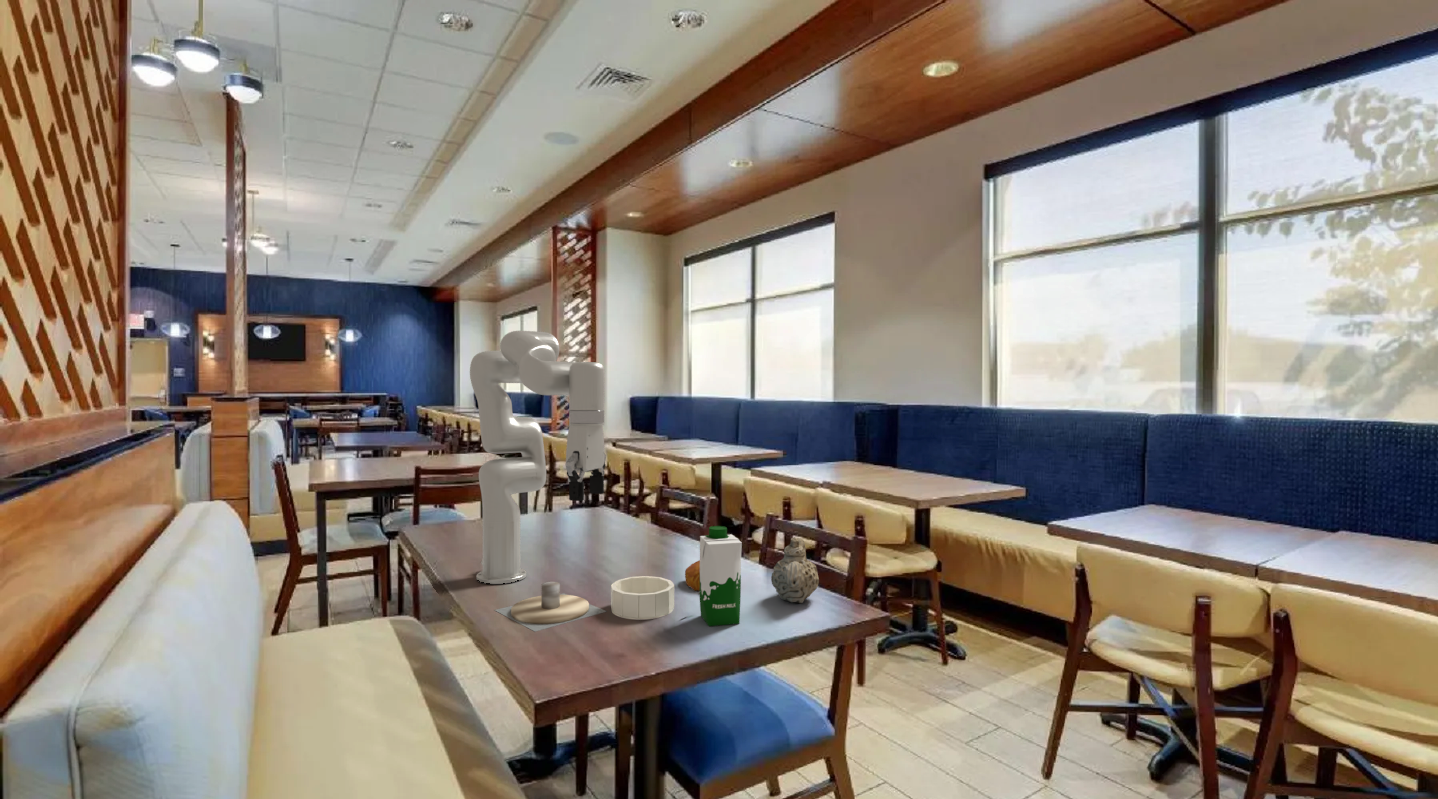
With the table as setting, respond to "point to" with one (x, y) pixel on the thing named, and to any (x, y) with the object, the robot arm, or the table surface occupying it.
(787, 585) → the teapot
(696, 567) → the croissant
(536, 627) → the mat
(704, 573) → the milk carton
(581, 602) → the lid
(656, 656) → the table surface
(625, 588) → the bowl
